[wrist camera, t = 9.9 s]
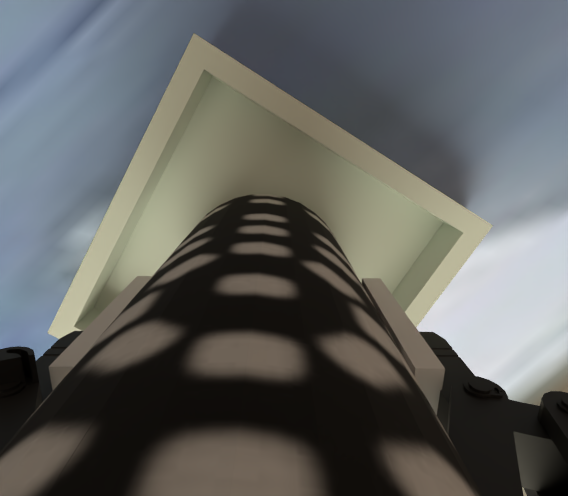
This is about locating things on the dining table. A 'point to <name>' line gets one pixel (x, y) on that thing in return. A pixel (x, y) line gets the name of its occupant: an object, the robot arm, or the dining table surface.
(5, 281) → the dining table surface
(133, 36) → the dining table surface
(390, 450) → the spotted tube
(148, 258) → the tray
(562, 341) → the dining table surface
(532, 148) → the dining table surface
